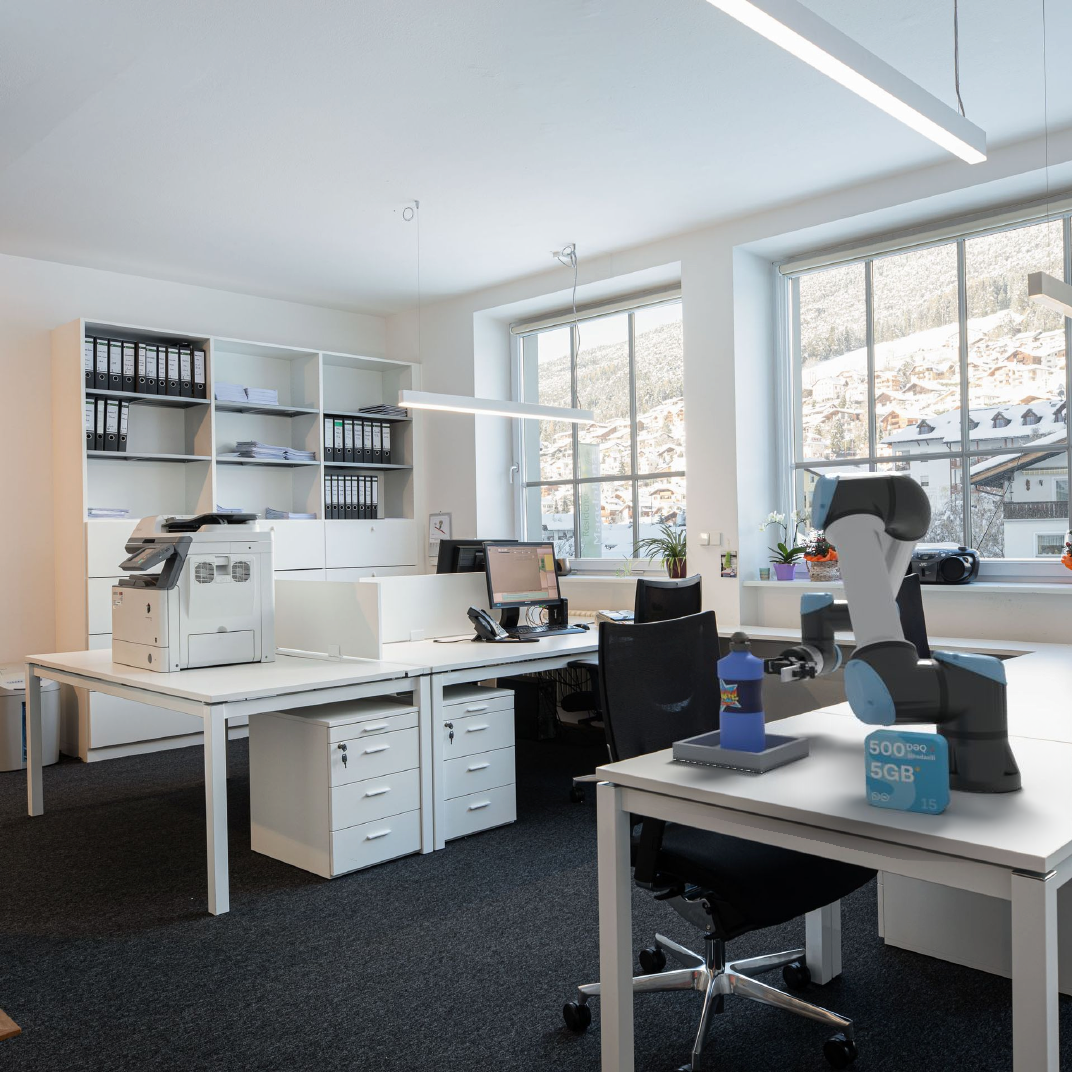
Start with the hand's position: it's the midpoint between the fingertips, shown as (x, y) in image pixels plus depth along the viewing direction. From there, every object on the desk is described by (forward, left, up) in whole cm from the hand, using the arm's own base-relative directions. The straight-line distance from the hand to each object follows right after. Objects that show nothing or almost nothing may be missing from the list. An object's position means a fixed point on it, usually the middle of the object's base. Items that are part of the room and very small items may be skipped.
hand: (753, 673), depth 196 cm
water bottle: (-6, +3, -16) cm, 17 cm away
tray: (-6, +3, -17) cm, 18 cm away
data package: (-41, -24, -17) cm, 50 cm away
